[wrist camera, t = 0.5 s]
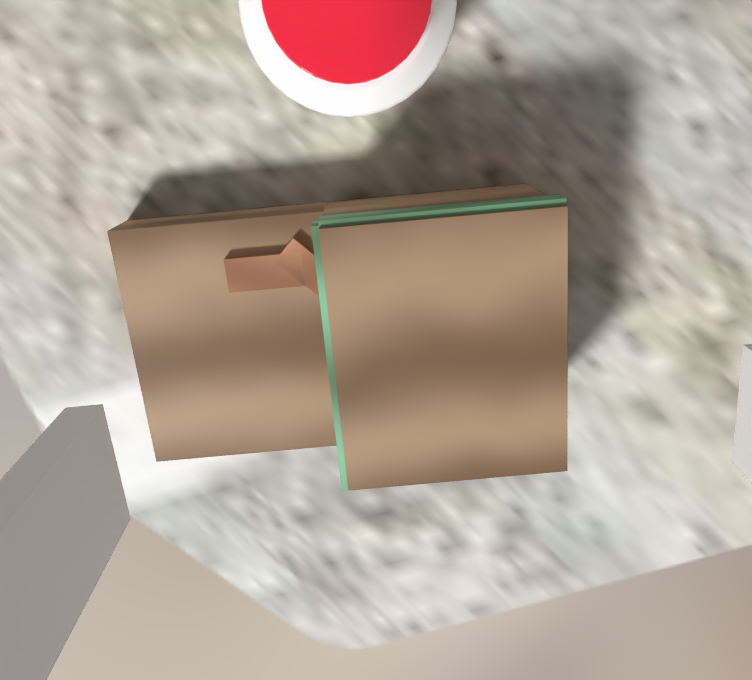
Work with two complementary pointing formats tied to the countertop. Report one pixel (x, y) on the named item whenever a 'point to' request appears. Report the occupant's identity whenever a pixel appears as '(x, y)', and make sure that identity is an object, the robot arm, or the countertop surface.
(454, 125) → the countertop surface
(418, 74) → the pill bottle
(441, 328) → the stand
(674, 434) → the countertop surface
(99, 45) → the countertop surface
